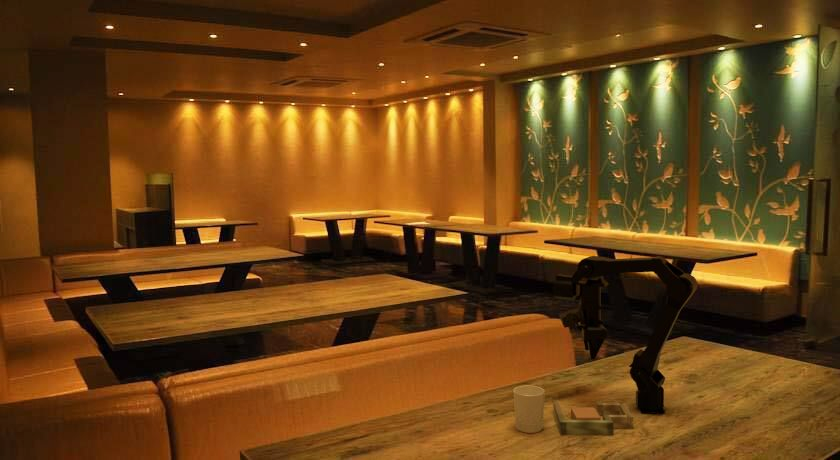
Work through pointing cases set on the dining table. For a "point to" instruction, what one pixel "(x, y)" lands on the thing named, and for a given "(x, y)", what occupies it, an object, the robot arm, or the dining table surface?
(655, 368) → the robot arm
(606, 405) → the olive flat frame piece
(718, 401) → the dining table surface
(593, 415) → the block
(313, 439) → the dining table surface
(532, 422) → the white cup
